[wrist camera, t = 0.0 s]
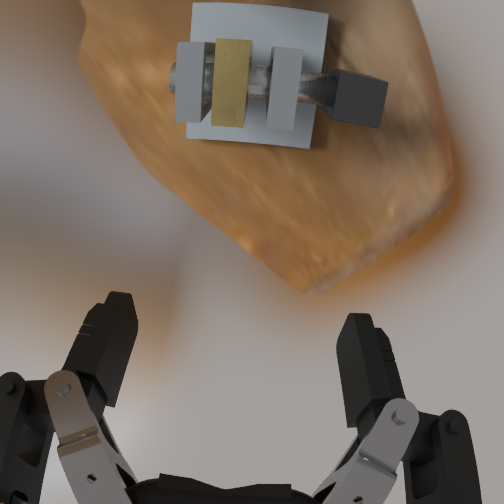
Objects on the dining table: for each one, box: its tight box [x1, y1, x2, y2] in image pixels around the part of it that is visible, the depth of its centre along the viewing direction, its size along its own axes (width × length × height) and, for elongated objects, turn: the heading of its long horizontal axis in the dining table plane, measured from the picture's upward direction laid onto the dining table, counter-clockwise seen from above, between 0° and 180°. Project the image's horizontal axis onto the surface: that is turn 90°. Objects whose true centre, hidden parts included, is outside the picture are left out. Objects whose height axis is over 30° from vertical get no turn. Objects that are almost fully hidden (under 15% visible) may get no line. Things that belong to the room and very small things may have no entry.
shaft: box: [169, 63, 388, 129], centre depth 23 cm, size 4×17×5 cm, turn 85°
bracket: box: [175, 3, 329, 149], centre depth 26 cm, size 16×14×13 cm
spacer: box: [211, 38, 254, 128], centre depth 24 cm, size 7×2×7 cm, turn 175°
